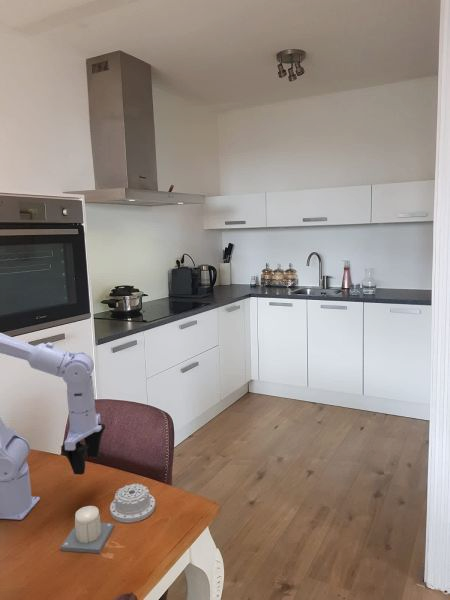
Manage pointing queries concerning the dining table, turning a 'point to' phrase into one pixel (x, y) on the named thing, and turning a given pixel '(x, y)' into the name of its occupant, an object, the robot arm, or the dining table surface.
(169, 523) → the dining table surface
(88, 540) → the wire nut
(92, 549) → the plate
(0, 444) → the robot arm
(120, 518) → the mechanical component
